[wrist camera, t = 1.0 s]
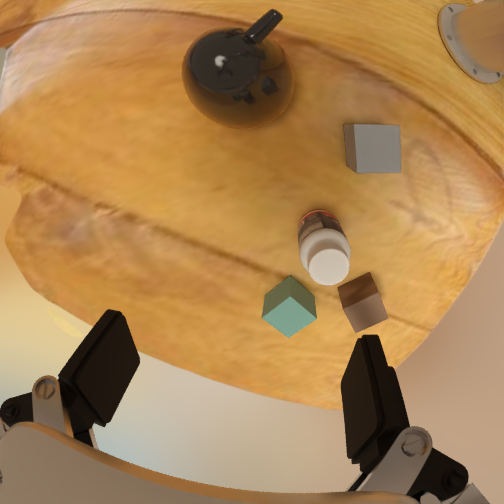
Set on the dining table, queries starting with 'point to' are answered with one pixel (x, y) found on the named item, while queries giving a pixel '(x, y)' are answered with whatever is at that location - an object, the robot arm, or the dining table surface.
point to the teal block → (289, 307)
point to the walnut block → (362, 302)
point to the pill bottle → (323, 247)
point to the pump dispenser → (239, 74)
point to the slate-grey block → (373, 148)
